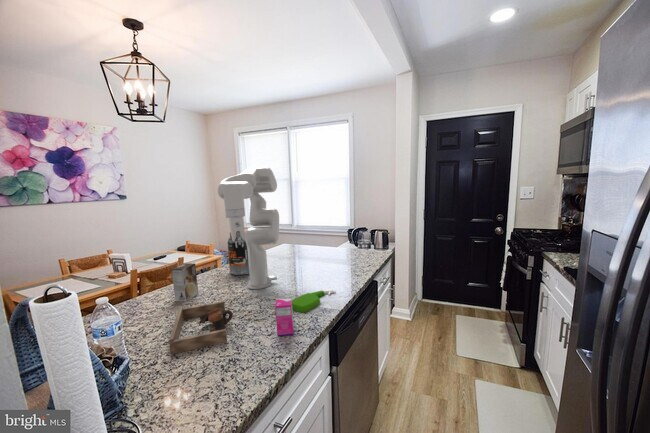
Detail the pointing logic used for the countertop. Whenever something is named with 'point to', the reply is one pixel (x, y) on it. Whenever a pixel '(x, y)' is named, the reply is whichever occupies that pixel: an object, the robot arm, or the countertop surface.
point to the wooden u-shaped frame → (197, 340)
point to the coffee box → (185, 281)
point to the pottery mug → (216, 319)
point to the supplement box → (284, 317)
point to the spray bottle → (309, 300)
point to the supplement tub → (238, 259)
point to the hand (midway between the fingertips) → (239, 253)
